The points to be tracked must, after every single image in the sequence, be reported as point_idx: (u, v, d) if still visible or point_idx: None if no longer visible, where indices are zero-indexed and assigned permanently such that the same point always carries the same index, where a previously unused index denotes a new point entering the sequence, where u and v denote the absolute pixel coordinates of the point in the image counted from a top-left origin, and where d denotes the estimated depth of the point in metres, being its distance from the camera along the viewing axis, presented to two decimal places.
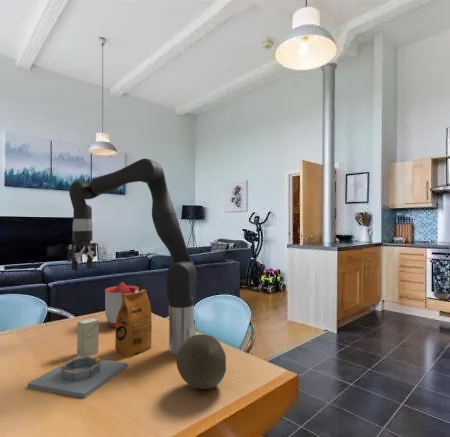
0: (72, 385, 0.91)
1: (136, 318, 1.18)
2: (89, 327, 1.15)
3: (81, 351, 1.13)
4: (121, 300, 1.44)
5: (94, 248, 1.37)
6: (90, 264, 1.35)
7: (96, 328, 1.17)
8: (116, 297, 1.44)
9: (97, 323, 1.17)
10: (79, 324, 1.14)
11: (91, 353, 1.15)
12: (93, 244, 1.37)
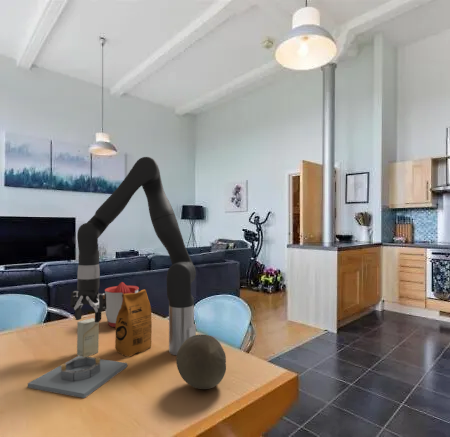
0: (72, 385, 0.91)
1: (136, 318, 1.18)
2: (89, 327, 1.15)
3: (81, 351, 1.13)
4: (121, 300, 1.44)
5: (77, 296, 1.20)
6: (80, 315, 1.18)
7: (96, 328, 1.17)
8: (116, 297, 1.44)
9: (97, 323, 1.17)
10: (79, 324, 1.14)
11: (91, 353, 1.15)
12: None
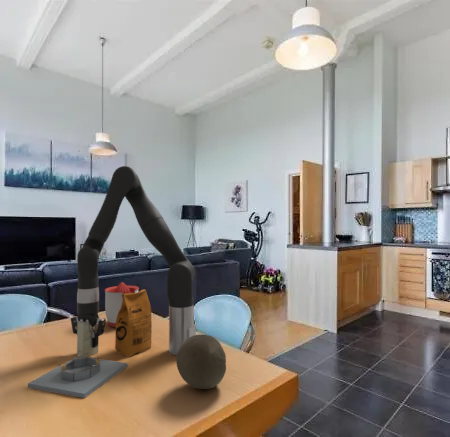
0: (72, 385, 0.91)
1: (136, 318, 1.18)
2: None
3: (81, 351, 1.13)
4: (121, 300, 1.44)
5: (78, 321, 1.19)
6: None
7: None
8: (116, 297, 1.44)
9: None
10: (79, 324, 1.14)
11: (91, 353, 1.15)
12: (77, 317, 1.19)
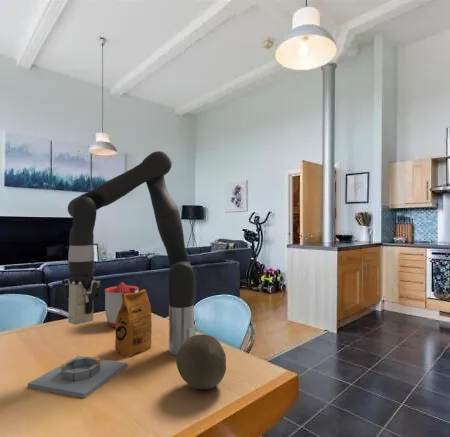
0: (72, 385, 0.91)
1: (136, 318, 1.18)
2: None
3: (72, 317, 0.98)
4: (121, 300, 1.44)
5: None
6: None
7: None
8: (116, 297, 1.44)
9: None
10: (71, 287, 0.99)
11: (84, 321, 0.99)
12: None
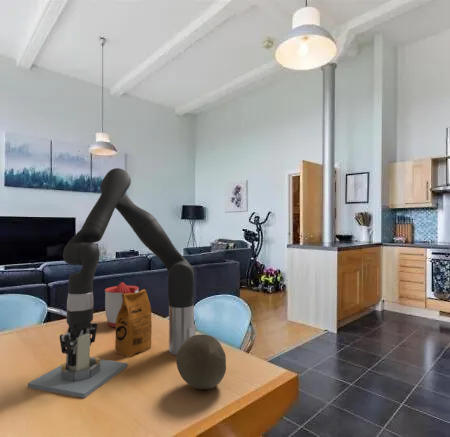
0: (72, 385, 0.91)
1: (136, 318, 1.18)
2: None
3: (85, 367, 0.97)
4: (121, 300, 1.44)
5: None
6: None
7: None
8: (116, 297, 1.44)
9: None
10: (82, 339, 0.96)
11: None
12: None
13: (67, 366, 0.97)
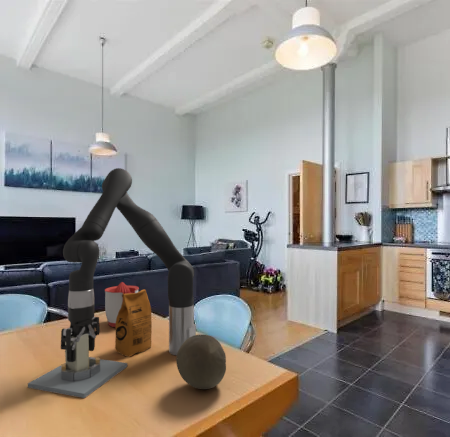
0: (72, 385, 0.91)
1: (136, 318, 1.18)
2: None
3: (85, 368, 0.97)
4: (121, 300, 1.44)
5: None
6: None
7: None
8: (116, 297, 1.44)
9: None
10: (80, 339, 0.96)
11: None
12: None
13: (67, 367, 0.97)
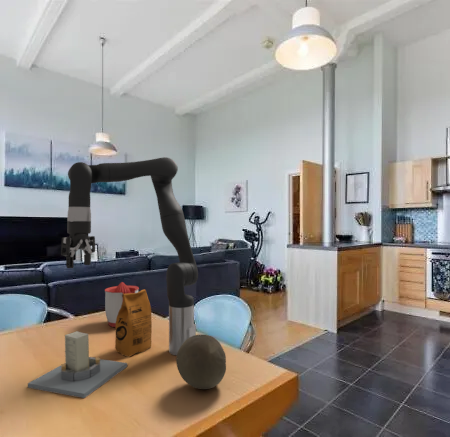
0: (72, 385, 0.91)
1: (136, 318, 1.18)
2: None
3: (85, 368, 0.97)
4: (121, 300, 1.44)
5: None
6: None
7: None
8: (116, 297, 1.44)
9: None
10: (80, 339, 0.96)
11: None
12: None
13: (67, 367, 0.97)
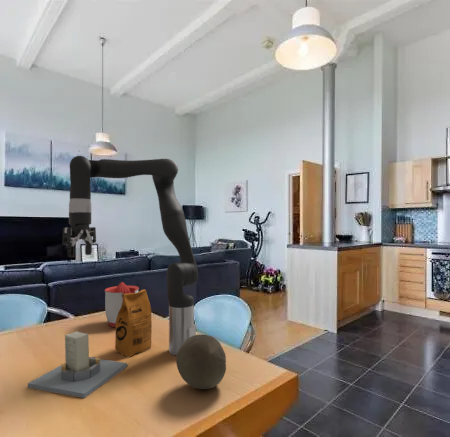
0: (72, 385, 0.91)
1: (136, 318, 1.18)
2: None
3: (85, 368, 0.97)
4: (121, 300, 1.44)
5: None
6: None
7: None
8: (116, 297, 1.44)
9: None
10: (80, 339, 0.96)
11: None
12: None
13: (67, 367, 0.97)
